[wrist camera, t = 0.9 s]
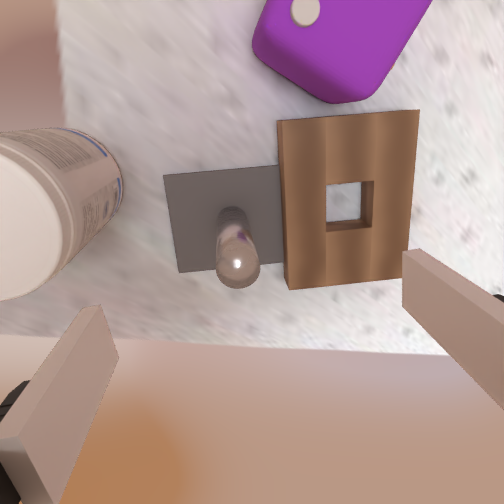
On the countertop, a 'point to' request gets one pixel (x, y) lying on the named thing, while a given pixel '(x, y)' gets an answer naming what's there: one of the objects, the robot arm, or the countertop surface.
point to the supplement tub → (50, 202)
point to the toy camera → (336, 43)
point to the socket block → (346, 171)
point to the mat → (213, 202)
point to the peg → (235, 249)
